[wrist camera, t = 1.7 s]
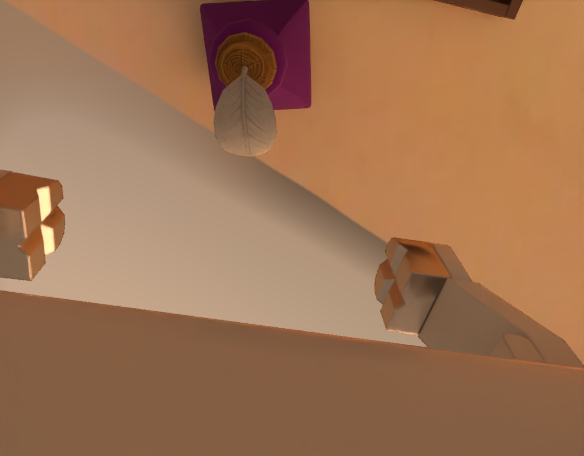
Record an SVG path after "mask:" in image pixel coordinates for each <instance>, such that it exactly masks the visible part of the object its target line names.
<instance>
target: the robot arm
mask: <svg viewBox="0 0 584 456" xmlns="http://www.w3.org/2000/svg"><path fill="white" fill-rule="evenodd" d="M62 191H63V190H62V185H61V183H60V182H59V181H58V180H53V179H47V178H41V177H37V176H31V175H25V174H21V173H15V172H11V171H6V170H0V277H1V278H11V279H18V280H27V281H32V279H33V278H34V277H35V276H36V275H37V273H38V272H39V271H40V270H41V268H42V267H43V266H44V264H45V263H46V262H45V255H48V254H50V253H53V252H55V250H56V249H57V248H58V246H59V245H60V243H61V240H62V238H63V235H64V229H65V215H64V213H63V212H62V211H61V210H60V209H59V207H58V206H57V205H58V204H59V203H60V202H61V200H62V199H63V192H62ZM385 253H386V255H387V258H388V259H387V260H386V261H384V262H383V263H381V264H380V265H379V268H378V270H377V273H376V278H375V295H376V298H377V300H378V301H379V302H380V303H382V304H383V306H382V309H381V315H382V318H383V321H384V324H385V328H386V330H390V331H396V332H402V333H408V334H414V335H419V336H418V337H419V338H420V339H421V340H422V342H423V343H424V344H426V346H427V347H428V348H427V347H420V346H412V345H405V344H397V343H390V342H382V341H375V340H366V339H360V338H352V337H345V336H337V335H330V334H322V333H315V332H307V331H300V330H292V329H285V328H277V327H270V326H262V325H255V324H248V323H240V322H232V321H225V320H217V319H210V318H203V317H195V316H188V315H180V314H172V313H165V312H158V311H150V310H142V309H135V308H127V307H120V306H113V305H106V304H97V303H91V302H83V301H76V300H68V299H61V298H53V297H45V296H38V295H31V294H23V293H15V292H8V291H1V290H0V456H584V365H583V364H582V363H581V361H580V360H579V359H578V357H577V356H576V355H575V354H574V352H573V351H572V350H571V348H570V347H569V346H568V344H567V343H566V342H565V341H564V340H563V339H561V338H560V337H558V336H557V335H555V334H554V333H552V332H551V331H549V330H548V329H546V328H545V327H543V326H542V325H541V324H539V323H538V322H536V321H535V320H533V319H532V318H530V317H529V316H527V315H526V314H524V313H523V312H521V311H520V310H518V309H517V308H515V307H514V306H512V305H511V304H509V303H508V302H506V301H505V300H503V299H502V298H500V297H499V296H497V295H496V294H494V293H493V292H491V291H490V290H488V289H487V288H485V287H484V286H482V285H481V284H479V283H475V282H472V280H471V278H470V277H469V275H468V274H467V272H466V270H465V269H464V267H463V266H462V264H461V263H460V261H459V259H458V258H457V256H456V255H455V253H454V251H453V250H452V248H451V247H450V246H448V245H443V244H435V243H429V242H422V241H415V240H408V239H401V238H391V240H390V241H389V242H388V245H387V247H386V250H385Z"/></svg>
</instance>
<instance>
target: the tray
mask: <svg viewBox="0 0 584 456" xmlns="http://www.w3.org/2000/svg"><path fill="white" fill-rule="evenodd" d="M435 1H439V2H443V3H447V4H451V5H455V6H459V7H463V8H467V9H471V10H475V11H479V12H483V13H487V14H491V15H495V16H499V17H504V18H509V19H513V20H514V19H515V17H516V15H517V13H518V10H519V8H520V6H521V3H522V1H523V0H435Z"/></svg>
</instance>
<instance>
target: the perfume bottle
mask: <svg viewBox="0 0 584 456" xmlns="http://www.w3.org/2000/svg"><path fill="white" fill-rule="evenodd" d="M200 13H201V20H202V27H203V34H204V41H205V48H206V55H207V62H208V69H209V76H210V83H211V91H212V98H213V105H214V110H215V117H214V129H215V136H216V138H217V140H218V142H219V144H220V146H221V147H222V148H223V149H225V150H226V151H227V152H231V153H234V154H237V155H243V156H255V155H259V154H263V153H265V152H266V151H268V150H270V149H271V147H272V146H273V145H274V142H275V138H276V133H277V131H276V118H275V114H274V110H281V109H299V108H309V107H311V68H310V24H309V1H308V0H263V1H244V2H226V3H208V4H202V5H200Z"/></svg>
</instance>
